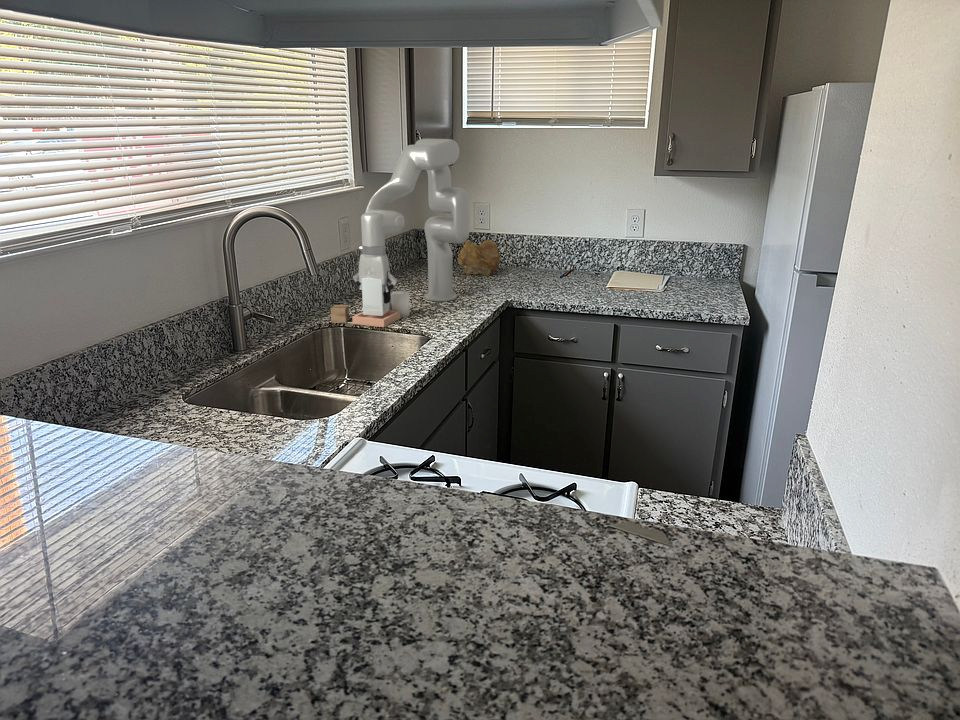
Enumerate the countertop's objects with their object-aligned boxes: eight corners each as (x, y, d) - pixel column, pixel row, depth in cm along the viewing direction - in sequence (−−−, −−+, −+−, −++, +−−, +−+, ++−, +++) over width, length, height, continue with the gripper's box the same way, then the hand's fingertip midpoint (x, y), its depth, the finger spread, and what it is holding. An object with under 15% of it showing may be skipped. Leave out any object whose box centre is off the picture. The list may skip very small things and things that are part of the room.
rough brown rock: (480, 282, 305) (483, 248, 300) (452, 273, 314) (454, 240, 309) (512, 275, 322) (515, 243, 317) (484, 267, 332) (487, 236, 327)
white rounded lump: (397, 312, 252) (396, 290, 250) (412, 313, 250) (412, 291, 248) (388, 316, 247) (387, 294, 244) (405, 318, 244) (404, 295, 242)
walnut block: (335, 318, 243) (334, 304, 242) (349, 319, 243) (348, 305, 241) (331, 322, 239) (330, 308, 237) (345, 323, 238) (345, 308, 237)
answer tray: (370, 315, 248) (369, 308, 247) (400, 318, 244) (400, 311, 243) (352, 323, 237) (352, 316, 236) (384, 327, 233) (383, 320, 232)
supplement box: (383, 316, 235) (381, 279, 231) (362, 315, 237) (360, 278, 233) (390, 310, 242) (388, 275, 238) (370, 309, 243) (368, 274, 239)
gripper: (345, 250, 232) (348, 301, 238) (391, 254, 226) (393, 306, 232) (356, 247, 239) (359, 297, 244) (402, 250, 233) (403, 301, 239)
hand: (376, 301), depth 238 cm, fingers closed on supplement box, 8 cm apart
